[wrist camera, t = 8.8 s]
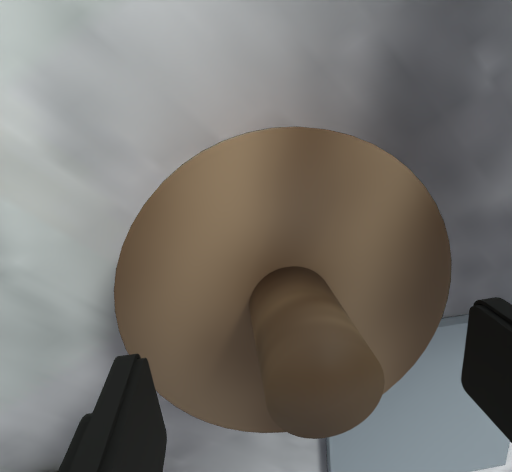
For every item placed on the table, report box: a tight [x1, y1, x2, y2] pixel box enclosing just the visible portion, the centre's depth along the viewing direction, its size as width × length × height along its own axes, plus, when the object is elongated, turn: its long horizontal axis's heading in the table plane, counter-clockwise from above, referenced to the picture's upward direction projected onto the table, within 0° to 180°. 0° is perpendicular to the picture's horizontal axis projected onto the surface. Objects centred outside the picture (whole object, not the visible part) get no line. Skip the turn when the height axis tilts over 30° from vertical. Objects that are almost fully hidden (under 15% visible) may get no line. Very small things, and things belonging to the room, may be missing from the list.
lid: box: [114, 127, 451, 439], centre depth 12 cm, size 13×13×5 cm
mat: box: [326, 314, 510, 472], centre depth 25 cm, size 14×14×1 cm
